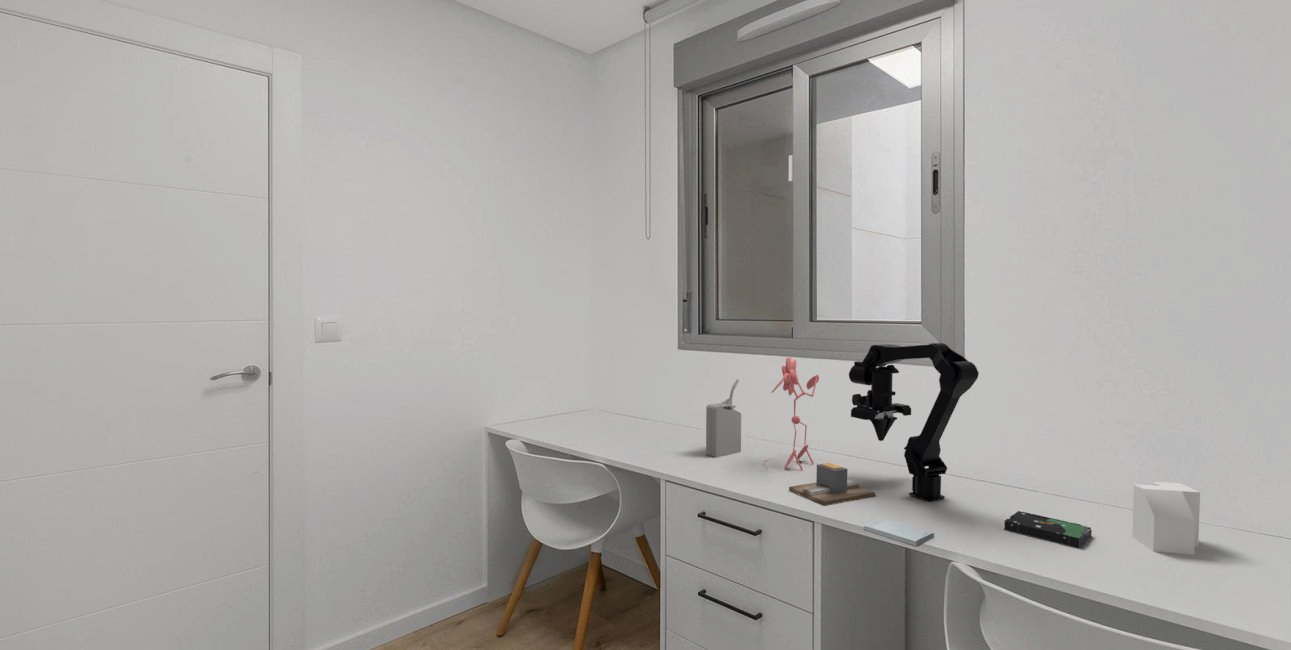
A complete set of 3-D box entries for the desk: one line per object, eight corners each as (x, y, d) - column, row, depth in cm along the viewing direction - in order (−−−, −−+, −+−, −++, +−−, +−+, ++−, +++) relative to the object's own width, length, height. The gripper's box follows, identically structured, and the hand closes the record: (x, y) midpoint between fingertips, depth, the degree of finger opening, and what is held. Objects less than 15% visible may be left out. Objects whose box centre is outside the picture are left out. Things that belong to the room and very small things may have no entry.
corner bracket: (1178, 536, 138) (1180, 483, 137) (1212, 556, 126) (1215, 499, 126) (1124, 531, 140) (1125, 480, 140) (1153, 551, 129) (1155, 495, 128)
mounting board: (875, 495, 165) (875, 488, 165) (824, 505, 157) (824, 497, 157) (838, 482, 178) (838, 475, 178) (789, 490, 170) (789, 483, 170)
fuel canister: (735, 448, 219) (735, 378, 218) (745, 450, 216) (746, 380, 215) (705, 454, 209) (705, 382, 209) (716, 457, 206) (716, 383, 205)
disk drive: (1003, 532, 141) (1081, 550, 130) (1003, 520, 141) (1081, 537, 130) (1017, 521, 148) (1091, 538, 137) (1017, 510, 148) (1092, 525, 137)
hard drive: (934, 532, 136) (882, 517, 146) (915, 541, 131) (863, 524, 141) (934, 539, 136) (882, 523, 146) (915, 548, 131) (863, 531, 141)
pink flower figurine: (825, 459, 204) (824, 354, 203) (794, 476, 183) (793, 360, 182) (782, 453, 213) (781, 353, 212) (748, 469, 192) (746, 358, 191)
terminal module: (847, 491, 166) (847, 467, 165) (834, 494, 164) (834, 469, 163) (828, 484, 172) (829, 461, 172) (816, 487, 170) (816, 463, 170)
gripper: (883, 382, 189) (882, 432, 190) (837, 385, 181) (836, 438, 182) (913, 387, 179) (912, 439, 180) (866, 390, 171) (865, 446, 172)
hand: (880, 440), depth 179 cm, fingers closed
